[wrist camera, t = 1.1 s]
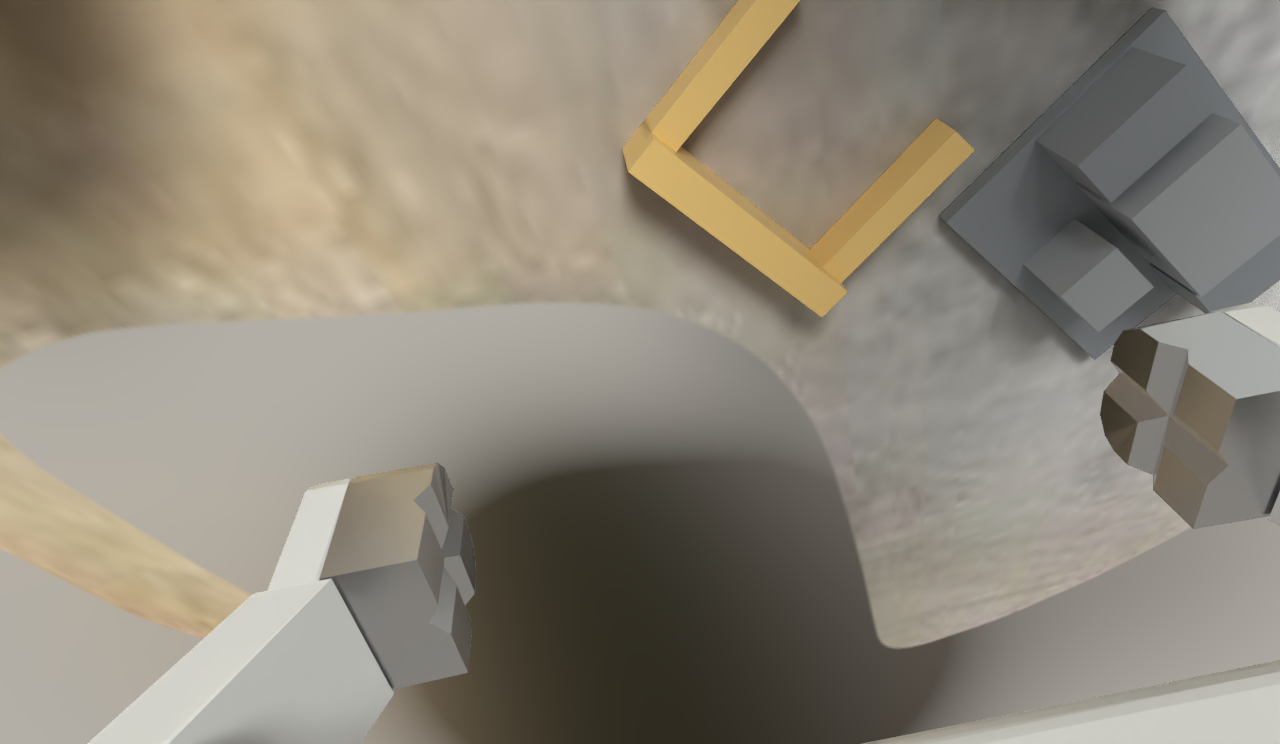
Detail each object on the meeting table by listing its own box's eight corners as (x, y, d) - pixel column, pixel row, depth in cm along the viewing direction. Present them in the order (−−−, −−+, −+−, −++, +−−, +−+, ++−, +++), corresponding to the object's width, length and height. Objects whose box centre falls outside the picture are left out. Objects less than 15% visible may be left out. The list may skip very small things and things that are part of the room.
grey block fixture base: (1152, 7, 39) (1240, 30, 34) (1285, 188, 46) (1374, 229, 41) (938, 216, 44) (987, 261, 40) (1085, 351, 51) (1143, 405, 46)
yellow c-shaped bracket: (774, -46, 36) (794, -37, 33) (954, 136, 42) (984, 157, 39) (622, 148, 40) (628, 171, 38) (804, 288, 46) (821, 317, 43)
